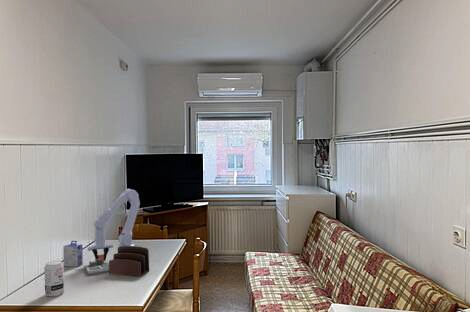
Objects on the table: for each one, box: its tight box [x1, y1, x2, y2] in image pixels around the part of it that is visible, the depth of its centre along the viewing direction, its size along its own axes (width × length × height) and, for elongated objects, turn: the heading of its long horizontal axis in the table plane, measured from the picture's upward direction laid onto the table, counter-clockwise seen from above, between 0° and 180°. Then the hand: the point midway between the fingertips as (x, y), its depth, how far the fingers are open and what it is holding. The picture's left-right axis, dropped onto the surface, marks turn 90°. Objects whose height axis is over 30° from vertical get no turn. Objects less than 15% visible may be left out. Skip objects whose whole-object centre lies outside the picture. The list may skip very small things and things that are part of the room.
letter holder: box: [108, 245, 150, 277], centre depth 218 cm, size 10×20×14 cm, turn 74°
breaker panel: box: [83, 261, 109, 277], centre depth 224 cm, size 13×17×2 cm
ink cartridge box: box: [62, 240, 84, 268], centre depth 234 cm, size 10×6×14 cm, turn 78°
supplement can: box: [43, 260, 65, 297], centre depth 186 cm, size 8×8×15 cm
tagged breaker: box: [88, 260, 96, 267], centre depth 225 cm, size 3×4×3 cm
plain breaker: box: [94, 258, 102, 265], centre depth 230 cm, size 3×4×3 cm
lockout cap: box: [97, 253, 105, 263], centre depth 238 cm, size 4×4×5 cm
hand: (100, 260), depth 238 cm, fingers closed on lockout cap, 4 cm apart
